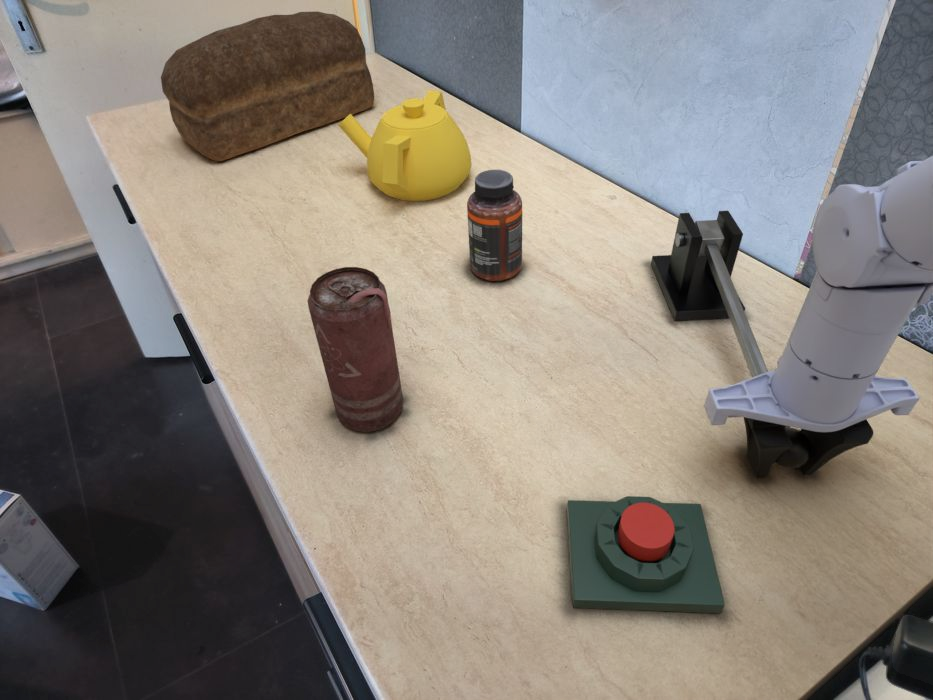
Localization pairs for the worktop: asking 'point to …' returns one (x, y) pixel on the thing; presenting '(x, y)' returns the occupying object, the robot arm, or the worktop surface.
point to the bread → (266, 81)
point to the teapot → (414, 149)
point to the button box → (641, 582)
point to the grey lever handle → (745, 332)
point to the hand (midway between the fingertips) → (776, 468)
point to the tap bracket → (695, 270)
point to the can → (357, 347)
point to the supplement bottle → (495, 226)
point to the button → (645, 531)
